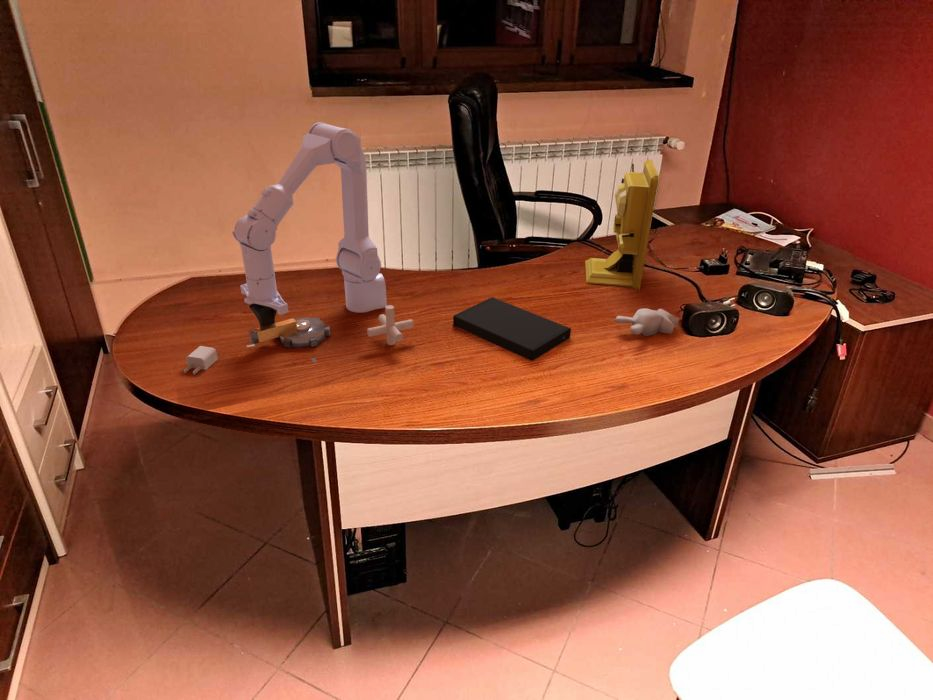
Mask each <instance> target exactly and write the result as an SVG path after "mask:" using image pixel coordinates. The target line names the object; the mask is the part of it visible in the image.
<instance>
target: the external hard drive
mask: <svg viewBox="0 0 933 700" xmlns="http://www.w3.org/2000/svg"><path fill="white" fill-rule="evenodd" d="M452 320H453V322H452V325H453V327H456V328H458V329H460V330H463V331H465V332H466V333H469V334H471V335H473V336H475V337H477V338H479V339H482V340H484V341H486V342H488V343H491V344H493V345H495V346H496V347H500V348H502V349H503V350H506V351H508V352H511V353H513V354H514V355H517V356H520V357H521V358H524V359H526V360H528V361H530V362H533V361H535V360H537V359H538V358H540V357H541V356H543V355H545V354H547V353H548V352H549V351H551V350H553V349H554V348H556V347H557V346H560V345H561V344H563V343H564V342H566V341H567V340H569V339H571V332H572V331H571V330H572V328H571V327H568V326H565V325H563V324H561V323H558V322H555V321H553V320H550V319H548V318H546V317H543V316H541V315H538V314H535V313H533V312H531V311H528V310H525V309H523V308H522V307H519V306H515V305H514V304H510V303H509V302H506V301H503V300H500V299H499V298H496V297H493V296H492V297H490V298H487V299H485V300H484V301H481V302H479V303H478V304H475V305H473V306H471V307H468V308H466V309H464V310H462V311H460V312H458V313H456V314H454V315H453V317H452Z"/></svg>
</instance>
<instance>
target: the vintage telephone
mask: <svg viewBox="0 0 933 700" xmlns="http://www.w3.org/2000/svg"><path fill="white" fill-rule="evenodd" d="M634 165H635V164H634V163H631V171H626V172H625V173H624V175H623V177H621V182H620V183H621V184H619V185H618V187H617V188H616V192H615V194H614V197H615V204H616V212H617V214H615V216H614V220H613V233H614V234H615V236H616V238H614V240H613V241H612V242H611V243H609V245H608V246H607V247H606V248H605V249H603V251H602V252H601V254H599V255H598V256H596V257H590V258H589V259H586V260H585V261H584V263H585V278H586V279H585V282H586V283H587V284H590V285H603V286H604V285H605V286H614V287H627V288H633V289H634V290H637V291H640V289H641V283H642V279H643V272H644V266H645V261H646V255H647V249H648V243H649V238H650V234H651V233H650V231H651V227H652V225H651V224H652V220H653V214H654V208H655V205H656V204H655V203H656V197H657V192H658V186H659V185H658V184H659V173H658V171H657V169H656V166H655V164H654V162H653V160H652V158H651V159H650V158H649V159H647V160H645V161H644V164H643V171H642V172H638V171H637V172H635V168H634V167H635V166H634ZM615 241H617V248H618V249H617V250H616V251H615V250H614V252H612V253H611V254H610V256H608V257H607V258H598V257H599V256H601V255H602V254H603V253H604V252H605V251H606V250H607V249H608V248H609V247H610V246H611V245H612V244H613V243H614V242H615Z"/></svg>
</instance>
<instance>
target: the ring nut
mask: <svg viewBox="0 0 933 700" xmlns="http://www.w3.org/2000/svg"><path fill="white" fill-rule="evenodd" d="M248 334H249V341H250V344H251V345H252V344H254V345H256V344H260V343H262V342H266V341H270V340H273V339H276V338H277V339H278V338H279V341H280V342H281V343H282V344H283V346H284V347H285V348H289V349H290V348H308V347H311V348H314V347H317V346H318V344H320V343H322V342H323V341H324V340H325V339H326V337H330V336H331V327H330V326H326V324H325V322H323V320H322V319H321V318H320V317H297V318H295V317H293V318H288V319H284V320H282V321H278V322H275V323H273V324H270V325H266V326H262V327H255V328H251V329H250V330H248Z"/></svg>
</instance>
